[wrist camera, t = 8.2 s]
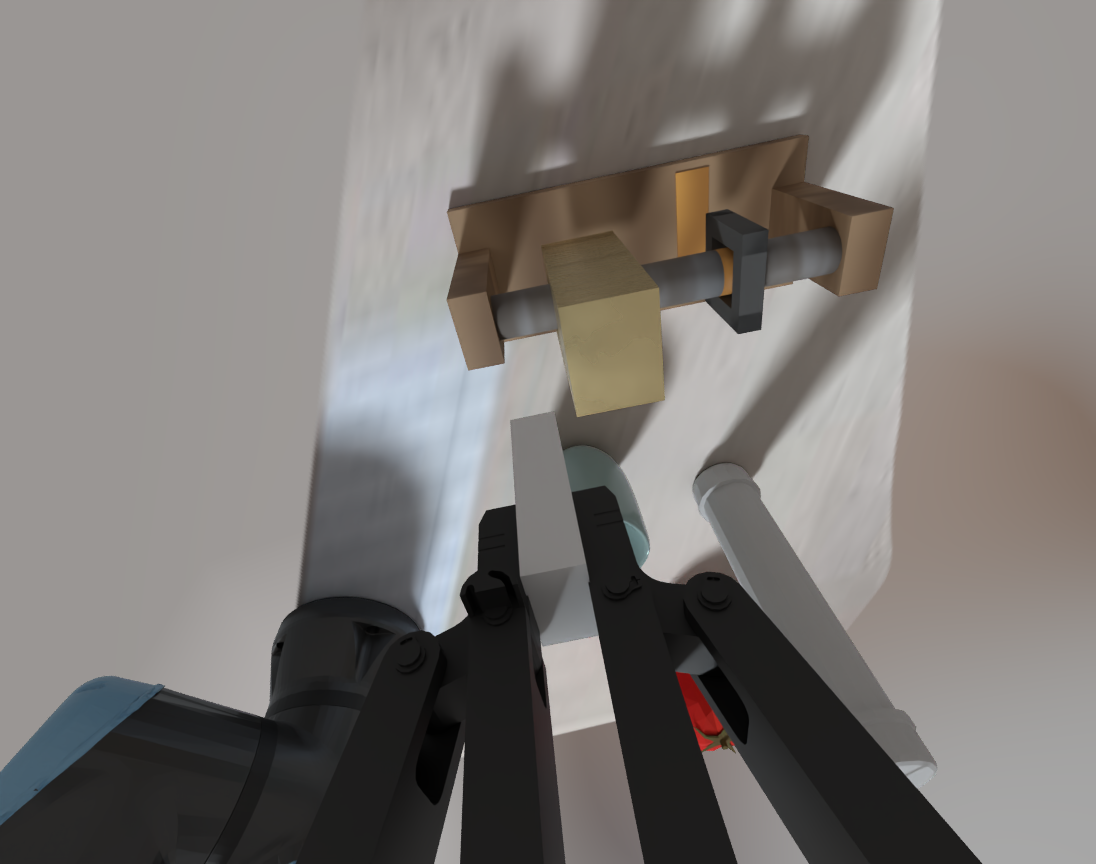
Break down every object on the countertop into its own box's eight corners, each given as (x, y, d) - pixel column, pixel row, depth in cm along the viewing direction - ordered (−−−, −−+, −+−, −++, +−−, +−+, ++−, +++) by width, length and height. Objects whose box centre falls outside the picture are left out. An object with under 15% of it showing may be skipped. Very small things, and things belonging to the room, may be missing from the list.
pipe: (691, 465, 44) (931, 932, 20) (760, 454, 44) (1088, 910, 20) (688, 509, 47) (893, 960, 23) (753, 499, 47) (1028, 941, 23)
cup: (578, 415, 40) (599, 498, 32) (639, 464, 44) (672, 549, 35) (515, 472, 43) (519, 561, 35) (577, 513, 47) (594, 603, 38)
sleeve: (556, 331, 30) (577, 417, 22) (540, 245, 27) (557, 308, 19) (620, 318, 30) (664, 400, 22) (612, 230, 27) (659, 287, 19)
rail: (484, 340, 36) (480, 408, 28) (448, 209, 31) (430, 248, 23) (785, 279, 35) (867, 332, 27) (800, 134, 30) (906, 149, 22)
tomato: (622, 653, 61) (649, 776, 50) (658, 589, 54) (697, 714, 43) (707, 659, 63) (751, 777, 52) (751, 598, 56) (812, 719, 45)
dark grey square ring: (705, 301, 30) (738, 334, 26) (705, 213, 27) (742, 235, 23) (724, 297, 30) (761, 329, 26) (727, 208, 27) (768, 229, 23)
